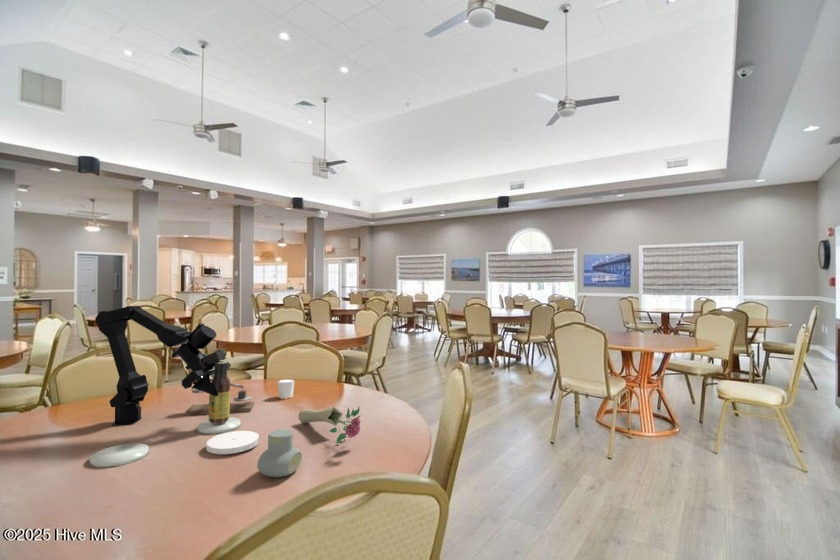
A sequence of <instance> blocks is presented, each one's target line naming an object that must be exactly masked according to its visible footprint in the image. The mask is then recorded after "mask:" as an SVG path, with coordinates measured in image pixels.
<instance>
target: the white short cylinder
mask: <svg viewBox="0 0 840 560" xmlns="http://www.w3.org/2000/svg"><path fill="white" fill-rule="evenodd" d="M294 387H295V379H291V378H288V379H285V378H284V379H280V380H278V381H277V390H278V398H289V397H292V396H293V397H294ZM293 397H292V398H293Z"/></svg>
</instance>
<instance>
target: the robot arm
mask: <svg viewBox="0 0 840 560" xmlns="http://www.w3.org/2000/svg"><path fill="white" fill-rule="evenodd" d="M94 321H95V324H96V326H97V328H98V331H100V332H101V334H103V335H104V336H105V337H106V338H107V340H108V344H109V347H110V351H111V354H112V357H113V361H114V363H115V366H116V370H117V374H118V379H117V380H118V381H117V383H116V394H115V395H114V396H113V397H112V398H111V399H110V400H109V404H110V407H111V408H114V422H112V423H111V425H112V426H122V425H124V426H125V425H133V424H136V423H137V422H139V420H141V419H142V406H141V405H140V404H141V402H143V401H144V399H145V397H146V395H147V393H148V392H149V385H150V384H149V383H148V380H147V376H146V375H145V374H142V375H141V374H140V373H138V372H137V369H136V366H135V363H134V359H133V356H132V352H131V350H130V346H129V343H128V340H127V336H126V330H127V327H128V321H133V322H135V323H136V324H138V325H140V326H141V327H143V328H145V329H147V330H149V331H150V332H152V333H154V334H155V335H156V336H157V338H158V340H159V342H161V343H162V344H163V345H164V346H166V347H168V348H171V347H176V346H177V348H174V349H172V354H171V358H172V359H175V358H179V357H180V359H181V360H182V361H183V363H184V364H185V365H186V366H185V369H186V371H188V370H190V372H189V373H188V374H187V375H186V376H185V377H184V378H183V379H182V380H181V386H182V387H183V389H185V390H187V389H189V388H191V390H192V389H197V390H200V391H203V393H206V394H208V395H210V394H211V395H214V396H218V395H219V393H218V392H217V390H216V389H215V387H214V386H213V384H212V383H211V381H210V379H213V377H214V374H215V367H214V365H215V362H218V361H225V360H226V359H227V354H228V353H227V351H225V350H224V349H223V348H218V349H217V350H215V352H212V353H210V354H208V353H204V354H203V353H202V351H201V350H204V349H206V348H207V346H209V344H210V343H212V341H213V340H215V339H216V338H217V332H216V331H215V329H212V328H210V326H207V325H205V324H204V323H199V324H198V325H197V326H196V327H195V329H194V330H192V332H190V331H188V329H186V328H184V327H181V326H179V325H176V324H175V325H174V324H171V323H170V324H169V323H167V322H165V321H164V320H162V319H161V318H159V317H157V316H156V315H154V314H151V313H150V312H148V311H147V310H146V309H143V308H142V307H141V306H140V305H128V306H127V305H126V306H124V307H121V308H118V309H113V310H103V311H100V312H98V314H97V315H96V316H95V318H94ZM200 349H201V350H200ZM226 361H227V360H226ZM227 362H228V367H227V371H228V369H229V368H231V366H232V365H231V363H230V362H229V361H227ZM210 377H211V378H210Z"/></svg>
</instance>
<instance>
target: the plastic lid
mask: <svg viewBox="0 0 840 560" xmlns="http://www.w3.org/2000/svg"><path fill="white" fill-rule="evenodd" d="M259 443H260V435H259V433H257V432H255V431H252V430H251V431H250V430H233V431H229V432H226V433H220V434H215V435H214V436H212V437H211V438H209V439H207V441H206V443H205V444H206V446H205V448H206V451H207V452H208V453H210V454H214V455H231V454H238V453H241V452H242V453H243V452H245V451H248V450H251V449H253V448H255V447H256V446H257V445H258V444H259Z"/></svg>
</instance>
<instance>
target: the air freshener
mask: <svg viewBox="0 0 840 560" xmlns="http://www.w3.org/2000/svg"><path fill="white" fill-rule="evenodd" d="M293 443H294V442H293V431H291V430H290V429H287V428H285V429H283V428H282V429H276V430H273V431H271V432H270V433H269V434H268V437H267V449H266V450H264V451H263V452H262V453H261V454H260V456H259V458H258V460H257V462H256V463H257V464H256V467H257V469H258V471H259V472H260V474H262V475H264V476H266V477H268V478H282V477H283V478H284V477H286V476H290V475H291V474H292V473H294V472H295V471H297V469H298V468H299V466H300V464H301V462H302V458H303V457H302V456H303V454H302V452H301V451H300V450H299V448H297V447H295V446H293ZM289 474H290V475H289Z"/></svg>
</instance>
